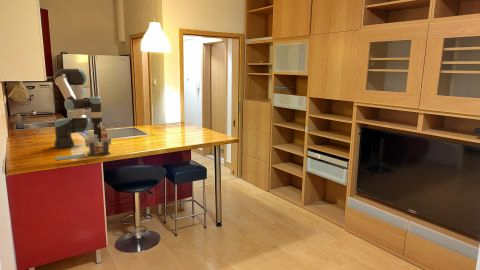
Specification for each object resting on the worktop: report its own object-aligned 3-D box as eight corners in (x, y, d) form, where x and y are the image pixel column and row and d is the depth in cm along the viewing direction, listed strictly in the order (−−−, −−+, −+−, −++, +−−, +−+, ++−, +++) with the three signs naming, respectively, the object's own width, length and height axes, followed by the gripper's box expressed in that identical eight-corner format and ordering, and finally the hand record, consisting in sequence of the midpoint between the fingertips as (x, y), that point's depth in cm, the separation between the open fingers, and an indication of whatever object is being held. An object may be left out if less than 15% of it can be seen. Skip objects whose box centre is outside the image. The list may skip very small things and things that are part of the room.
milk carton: (93, 149, 276) (92, 125, 272) (103, 147, 284) (102, 123, 280) (100, 150, 271) (98, 126, 267) (110, 148, 279) (108, 125, 275)
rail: (85, 146, 257) (85, 139, 256) (110, 143, 266) (109, 137, 265) (86, 147, 254) (85, 140, 253) (111, 144, 263) (110, 138, 262)
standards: (88, 154, 260) (87, 142, 259) (108, 151, 268) (107, 140, 266) (89, 156, 255) (88, 144, 253) (110, 153, 262) (109, 142, 260)
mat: (55, 157, 250) (55, 157, 250) (84, 154, 260) (84, 153, 260) (56, 160, 242) (56, 160, 242) (86, 157, 252) (86, 156, 252)
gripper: (88, 115, 264) (90, 141, 268) (93, 119, 243) (96, 148, 248) (98, 114, 268) (100, 140, 272) (104, 119, 247) (106, 147, 251)
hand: (98, 144), depth 260 cm, fingers open, 13 cm apart
